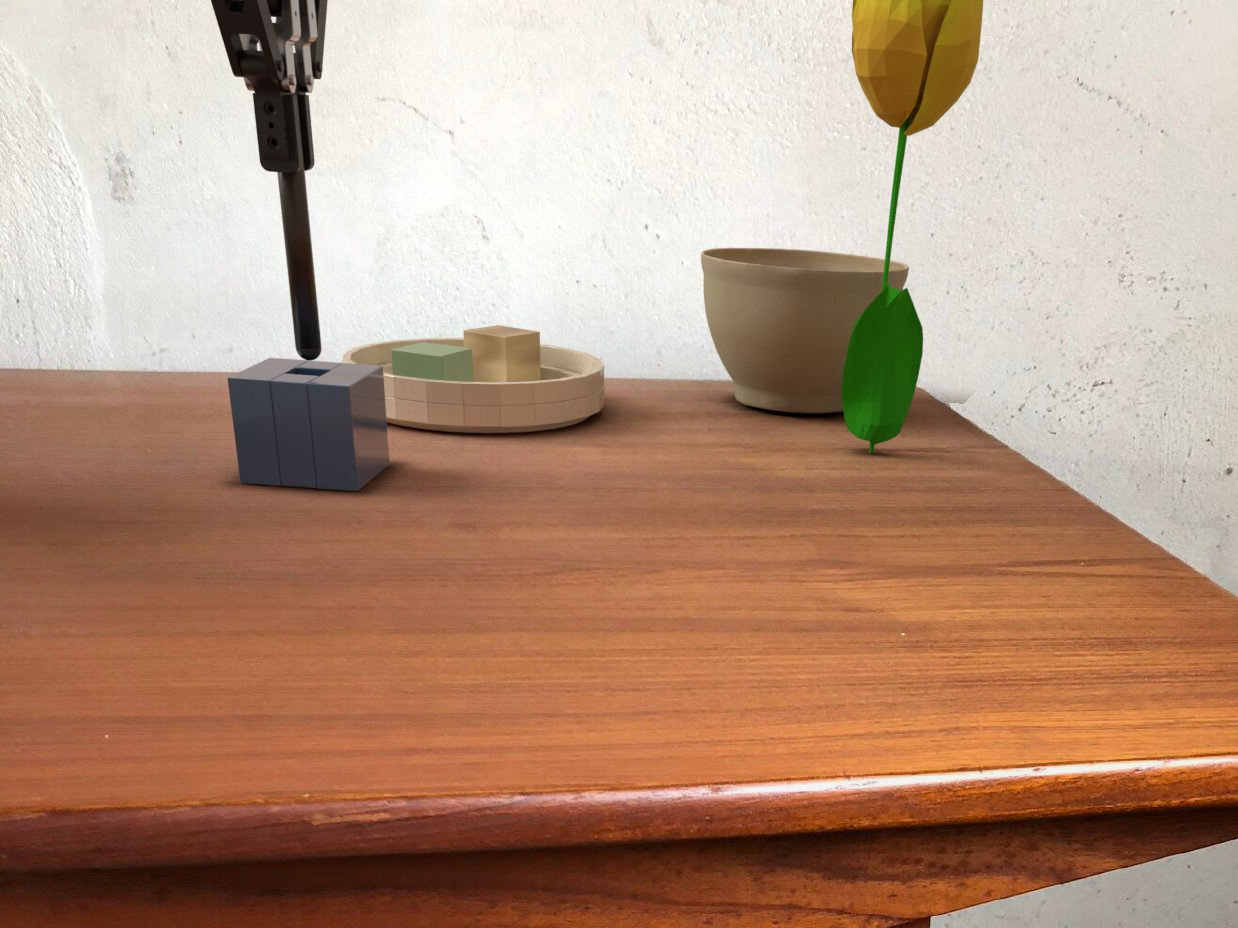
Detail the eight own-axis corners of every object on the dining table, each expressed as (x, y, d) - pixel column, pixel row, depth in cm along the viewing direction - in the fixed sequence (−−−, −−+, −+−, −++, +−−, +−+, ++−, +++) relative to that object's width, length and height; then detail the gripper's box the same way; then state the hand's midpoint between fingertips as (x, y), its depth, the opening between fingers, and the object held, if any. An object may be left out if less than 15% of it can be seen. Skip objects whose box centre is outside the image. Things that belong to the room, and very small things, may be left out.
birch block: (465, 387, 111) (463, 330, 109) (499, 381, 114) (498, 325, 112) (507, 395, 109) (505, 337, 107) (540, 388, 112) (540, 331, 110)
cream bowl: (312, 425, 100) (307, 372, 98) (386, 377, 116) (383, 331, 114) (582, 444, 99) (582, 391, 97) (618, 393, 115) (618, 347, 114)
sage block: (394, 411, 102) (390, 349, 100) (425, 402, 106) (422, 341, 103) (444, 418, 101) (441, 355, 99) (474, 409, 104) (472, 348, 102)
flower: (805, 438, 105) (845, -59, 89) (912, 441, 106) (970, -50, 90) (826, 465, 97) (874, -71, 82) (940, 469, 98) (1009, -60, 83)
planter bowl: (928, 423, 112) (947, 271, 106) (741, 429, 106) (750, 269, 101) (838, 384, 124) (851, 246, 119) (666, 387, 119) (671, 243, 113)
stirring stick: (292, 361, 84) (261, 64, 76) (302, 357, 86) (272, 64, 78) (317, 363, 84) (288, 65, 76) (326, 359, 85) (298, 65, 77)
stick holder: (240, 483, 85) (227, 377, 82) (280, 456, 91) (269, 357, 88) (357, 491, 85) (349, 386, 82) (389, 464, 91) (383, 365, 88)
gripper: (225, -207, 76) (264, 161, 85) (116, -260, 65) (174, 173, 74) (362, -200, 76) (387, 169, 85) (277, -251, 64) (315, 182, 74)
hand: (288, 169), depth 79 cm, fingers closed on stirring stick, 1 cm apart
